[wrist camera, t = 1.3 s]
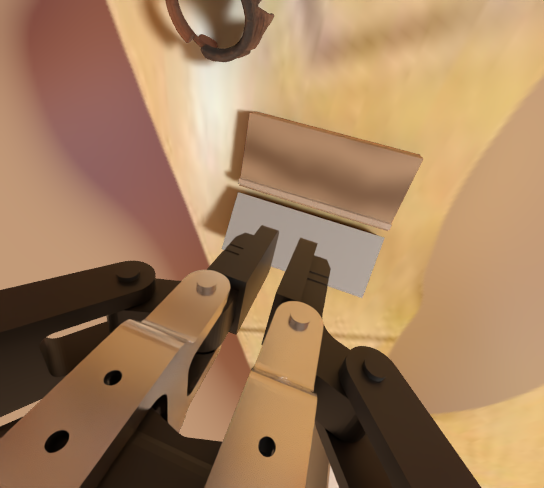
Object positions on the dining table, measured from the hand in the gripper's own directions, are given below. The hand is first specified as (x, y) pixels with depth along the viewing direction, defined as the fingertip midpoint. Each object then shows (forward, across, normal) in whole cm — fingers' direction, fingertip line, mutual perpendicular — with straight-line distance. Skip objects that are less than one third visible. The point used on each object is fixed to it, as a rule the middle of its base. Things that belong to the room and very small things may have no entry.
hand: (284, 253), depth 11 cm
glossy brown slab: (+21, 0, +2) cm, 21 cm away
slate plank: (+19, +1, +11) cm, 22 cm away
